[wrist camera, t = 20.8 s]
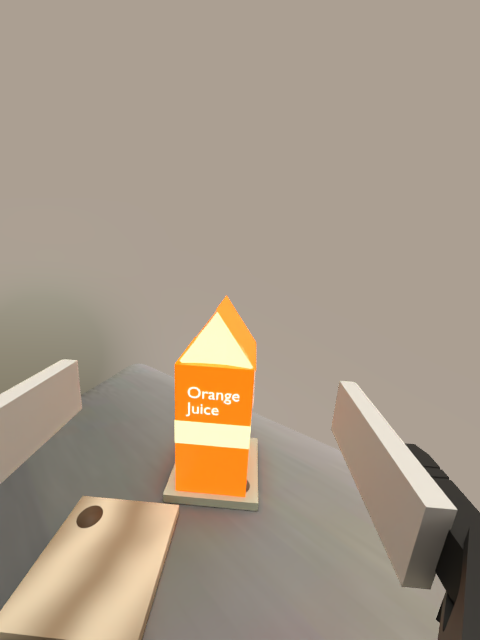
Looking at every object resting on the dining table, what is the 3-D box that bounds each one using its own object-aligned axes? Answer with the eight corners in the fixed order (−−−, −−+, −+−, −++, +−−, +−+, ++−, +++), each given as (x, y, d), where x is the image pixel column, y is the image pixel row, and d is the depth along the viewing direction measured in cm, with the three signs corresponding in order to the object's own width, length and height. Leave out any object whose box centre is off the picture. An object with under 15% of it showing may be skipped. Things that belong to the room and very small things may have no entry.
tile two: (163, 502, 28) (162, 494, 28) (186, 438, 38) (186, 432, 37) (257, 511, 28) (258, 503, 27) (256, 444, 37) (257, 438, 37)
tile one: (-11, 640, 18) (-14, 629, 17) (83, 503, 27) (82, 495, 27) (136, 658, 17) (135, 647, 17) (179, 512, 27) (179, 504, 27)
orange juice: (174, 490, 28) (172, 307, 23) (193, 436, 37) (195, 293, 32) (247, 498, 28) (261, 312, 23) (249, 440, 36) (259, 297, 32)
